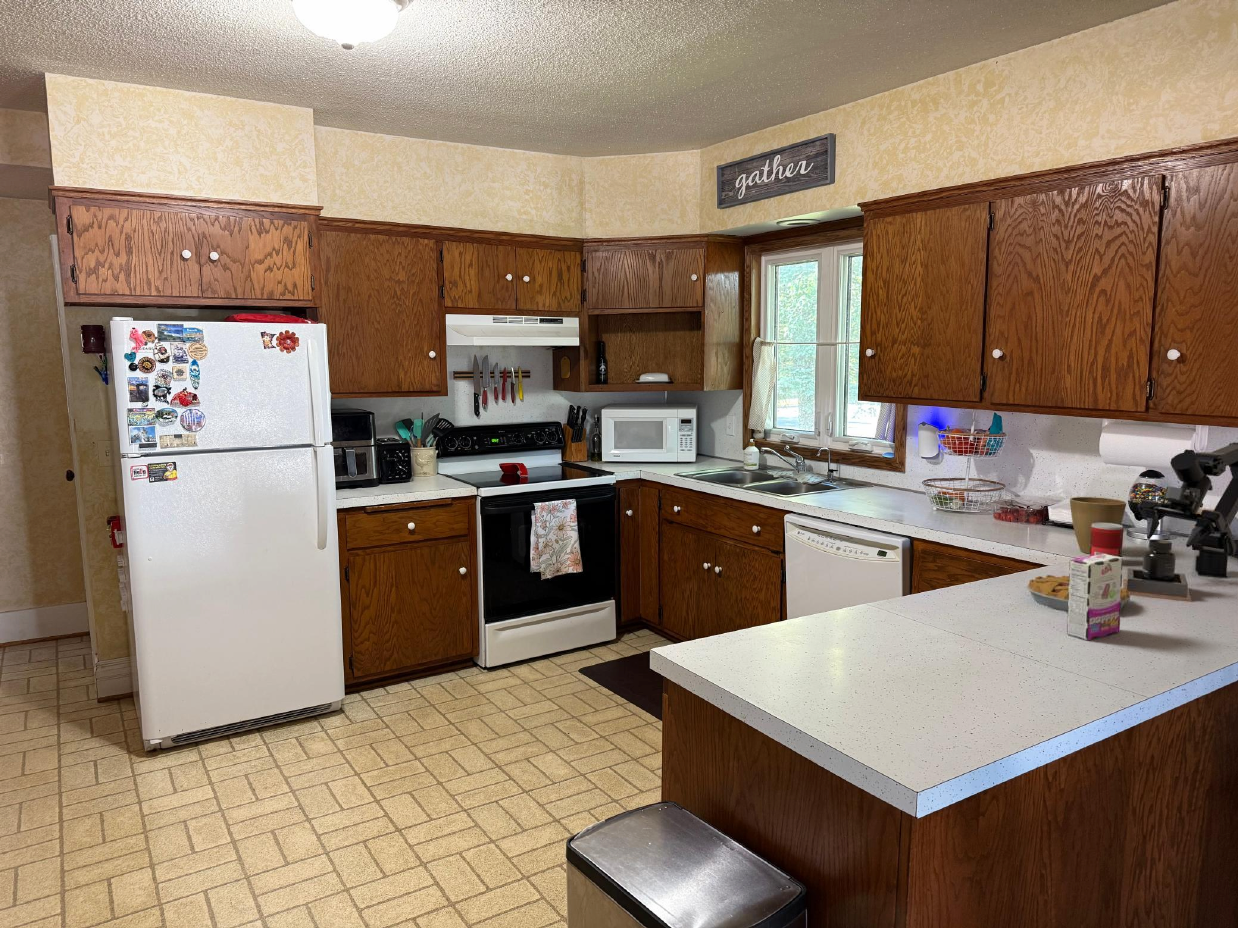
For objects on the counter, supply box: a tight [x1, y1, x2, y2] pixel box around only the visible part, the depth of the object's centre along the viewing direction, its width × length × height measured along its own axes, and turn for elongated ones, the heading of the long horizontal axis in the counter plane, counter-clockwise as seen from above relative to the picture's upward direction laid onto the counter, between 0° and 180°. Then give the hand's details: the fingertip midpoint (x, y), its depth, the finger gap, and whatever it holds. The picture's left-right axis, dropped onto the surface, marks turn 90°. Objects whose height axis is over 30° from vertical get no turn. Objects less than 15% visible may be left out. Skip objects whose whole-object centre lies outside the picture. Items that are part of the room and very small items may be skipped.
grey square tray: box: [1122, 567, 1192, 602], centre depth 212 cm, size 14×14×4 cm
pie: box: [1026, 574, 1131, 612], centre depth 203 cm, size 22×22×5 cm
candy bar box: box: [1066, 554, 1124, 641], centre depth 179 cm, size 11×5×16 cm, turn 117°
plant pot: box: [1069, 496, 1127, 555], centre depth 256 cm, size 15×15×16 cm
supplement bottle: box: [1141, 538, 1176, 582], centre depth 212 cm, size 7×7×12 cm
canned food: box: [1089, 523, 1124, 558], centre depth 243 cm, size 8×8×11 cm
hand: (1167, 542), depth 215 cm, fingers open, 9 cm apart
